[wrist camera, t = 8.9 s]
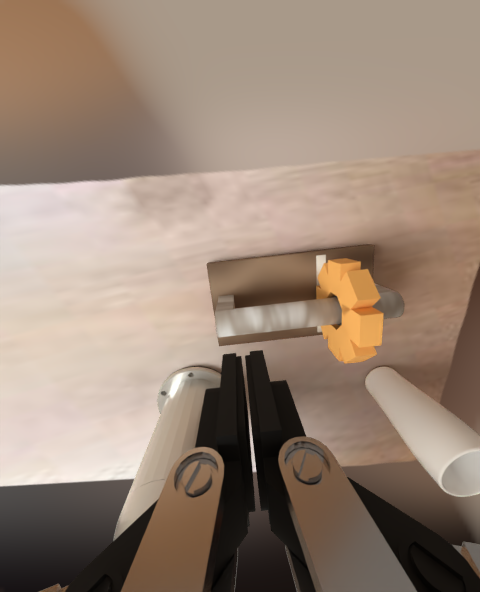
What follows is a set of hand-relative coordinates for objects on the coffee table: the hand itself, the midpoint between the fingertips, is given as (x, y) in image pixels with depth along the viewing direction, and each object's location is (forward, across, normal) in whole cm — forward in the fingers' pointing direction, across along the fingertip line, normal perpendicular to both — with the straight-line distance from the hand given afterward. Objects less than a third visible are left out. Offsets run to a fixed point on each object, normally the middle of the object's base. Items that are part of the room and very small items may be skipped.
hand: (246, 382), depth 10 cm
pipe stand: (+23, -7, +3) cm, 24 cm away
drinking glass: (+23, -21, +19) cm, 37 cm away
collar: (+21, -11, +3) cm, 24 cm away
